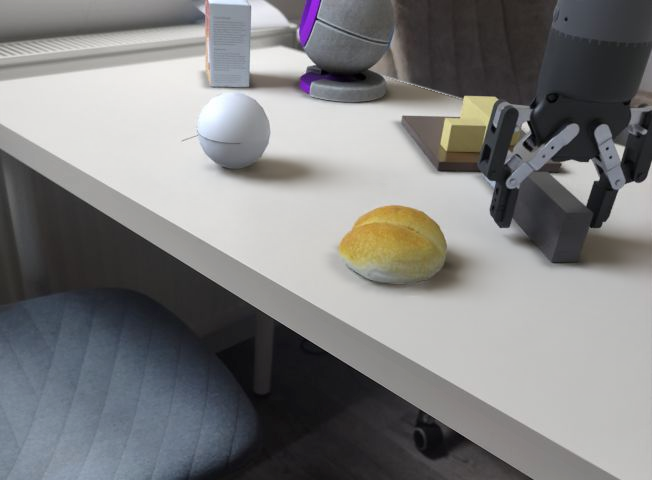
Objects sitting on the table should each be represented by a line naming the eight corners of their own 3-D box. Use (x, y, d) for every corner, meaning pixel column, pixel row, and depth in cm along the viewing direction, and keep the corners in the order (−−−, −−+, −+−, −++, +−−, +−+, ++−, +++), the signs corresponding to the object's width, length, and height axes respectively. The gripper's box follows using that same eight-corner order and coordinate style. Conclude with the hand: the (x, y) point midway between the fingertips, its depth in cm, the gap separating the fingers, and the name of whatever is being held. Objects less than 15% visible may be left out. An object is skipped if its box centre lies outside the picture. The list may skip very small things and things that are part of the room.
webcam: (293, 74, 103) (300, -41, 95) (378, 79, 104) (392, -34, 96) (298, 99, 93) (305, -27, 84) (392, 104, 94) (409, -20, 85)
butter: (489, 121, 87) (495, 96, 85) (517, 145, 80) (523, 119, 78) (459, 120, 87) (464, 95, 85) (484, 145, 79) (489, 118, 78)
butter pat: (473, 145, 79) (479, 118, 77) (480, 152, 77) (486, 125, 75) (440, 144, 79) (444, 117, 77) (446, 151, 77) (451, 124, 75)
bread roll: (326, 274, 54) (330, 227, 52) (361, 230, 61) (367, 187, 59) (428, 299, 52) (438, 252, 50) (453, 251, 59) (463, 207, 57)
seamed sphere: (246, 149, 76) (247, 80, 72) (282, 173, 71) (286, 99, 67) (161, 163, 71) (157, 89, 67) (193, 189, 66) (191, 111, 62)
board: (506, 125, 89) (508, 117, 89) (559, 172, 76) (562, 163, 76) (400, 123, 87) (402, 115, 87) (437, 170, 74) (439, 161, 74)
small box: (205, 71, 101) (204, -9, 95) (243, 72, 102) (244, -7, 96) (209, 87, 95) (208, 2, 89) (249, 88, 96) (251, 4, 90)
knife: (577, 262, 59) (594, 213, 56) (551, 262, 58) (566, 213, 56) (497, 177, 74) (507, 135, 71) (475, 176, 74) (484, 134, 71)
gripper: (534, 34, 48) (484, 244, 58) (719, 41, 50) (642, 243, 60) (496, 13, 54) (456, 207, 64) (663, 21, 56) (600, 207, 66)
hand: (546, 224), depth 62 cm, fingers open, 8 cm apart
